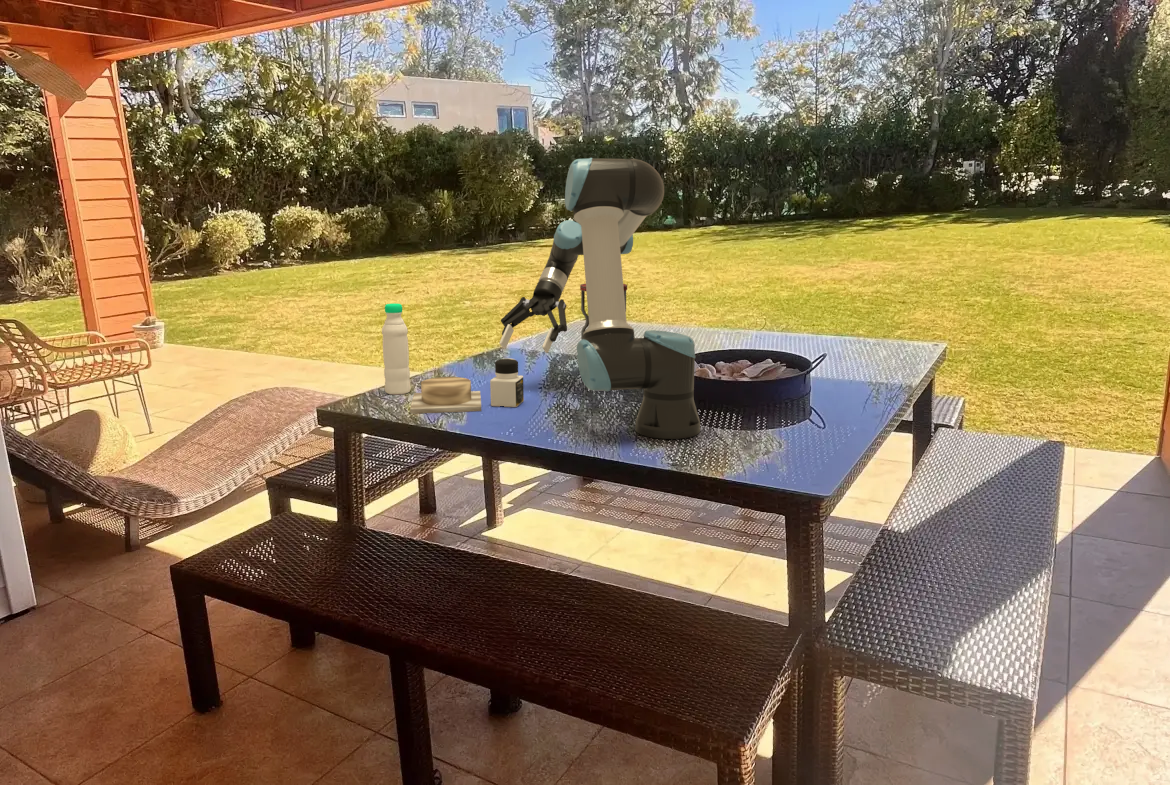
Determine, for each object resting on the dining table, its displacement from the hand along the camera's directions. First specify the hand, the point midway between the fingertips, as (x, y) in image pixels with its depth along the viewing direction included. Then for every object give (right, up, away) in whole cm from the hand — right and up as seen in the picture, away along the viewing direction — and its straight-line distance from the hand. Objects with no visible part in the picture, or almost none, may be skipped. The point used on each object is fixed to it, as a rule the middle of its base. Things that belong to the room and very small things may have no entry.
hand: (523, 348), depth 225 cm
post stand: (-20, -15, -5) cm, 26 cm away
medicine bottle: (-4, -15, -5) cm, 17 cm away
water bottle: (-36, -12, +8) cm, 39 cm away
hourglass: (+23, 0, +61) cm, 65 cm away
